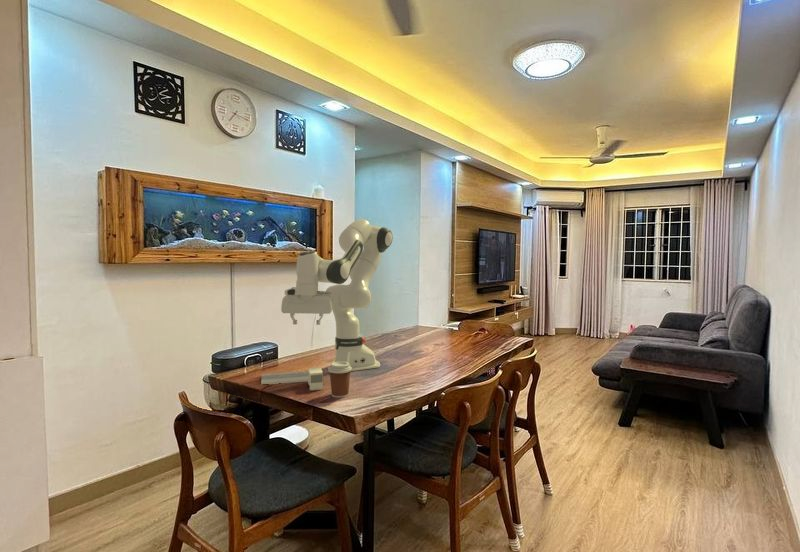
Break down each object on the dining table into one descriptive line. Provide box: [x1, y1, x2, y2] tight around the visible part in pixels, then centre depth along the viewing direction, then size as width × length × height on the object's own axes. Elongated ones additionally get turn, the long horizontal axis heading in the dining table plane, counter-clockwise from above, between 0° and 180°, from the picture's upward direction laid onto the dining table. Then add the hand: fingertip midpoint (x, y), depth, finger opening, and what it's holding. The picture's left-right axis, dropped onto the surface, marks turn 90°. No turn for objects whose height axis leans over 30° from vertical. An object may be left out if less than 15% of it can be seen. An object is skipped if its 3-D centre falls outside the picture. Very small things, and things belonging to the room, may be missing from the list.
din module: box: [307, 366, 324, 391], centre depth 169 cm, size 5×9×7 cm, turn 17°
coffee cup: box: [327, 361, 353, 399], centre depth 159 cm, size 9×9×12 cm
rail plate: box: [260, 370, 308, 386], centre depth 180 cm, size 20×12×2 cm, turn 107°
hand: (306, 324), depth 172 cm, fingers open, 8 cm apart
